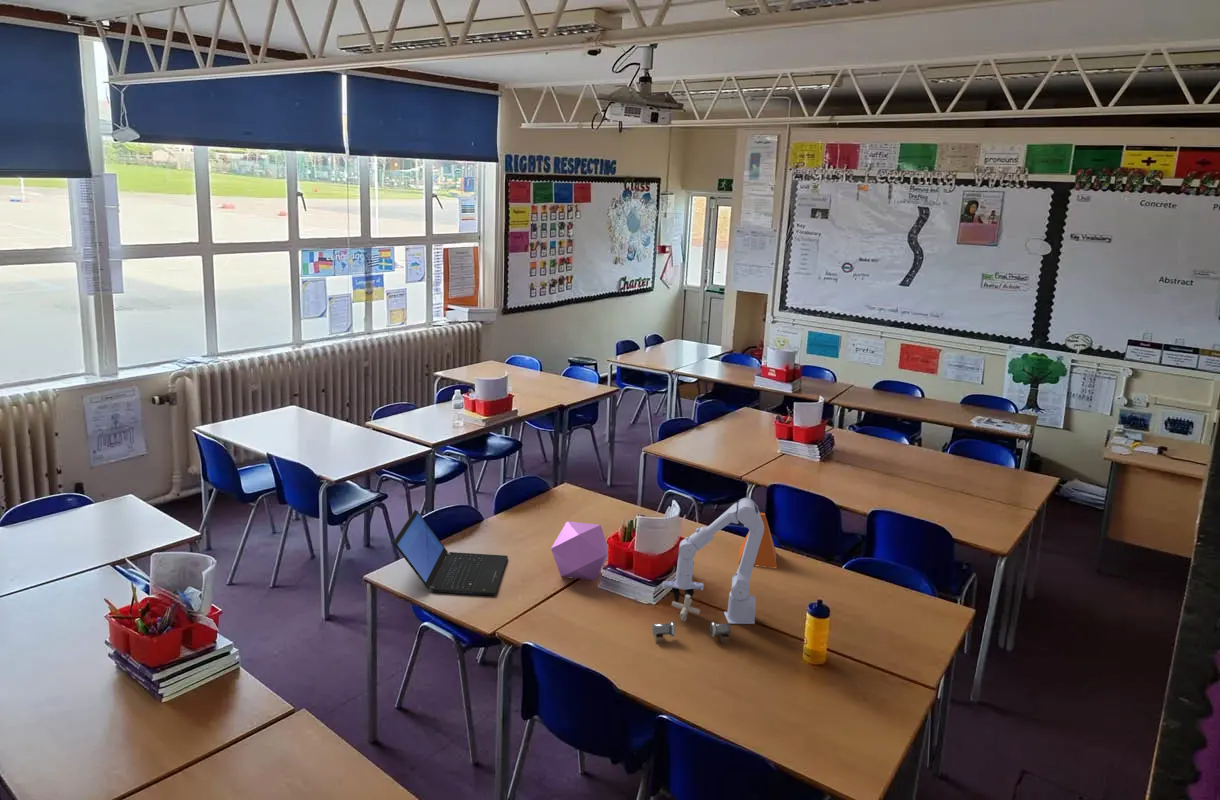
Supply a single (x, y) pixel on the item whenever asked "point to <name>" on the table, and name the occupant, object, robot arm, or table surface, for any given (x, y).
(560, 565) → the icosahedron
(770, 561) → the pyramid
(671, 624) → the grey metal fitting
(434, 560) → the laptop
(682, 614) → the pipe connector
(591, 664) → the table surface
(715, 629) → the shaft
